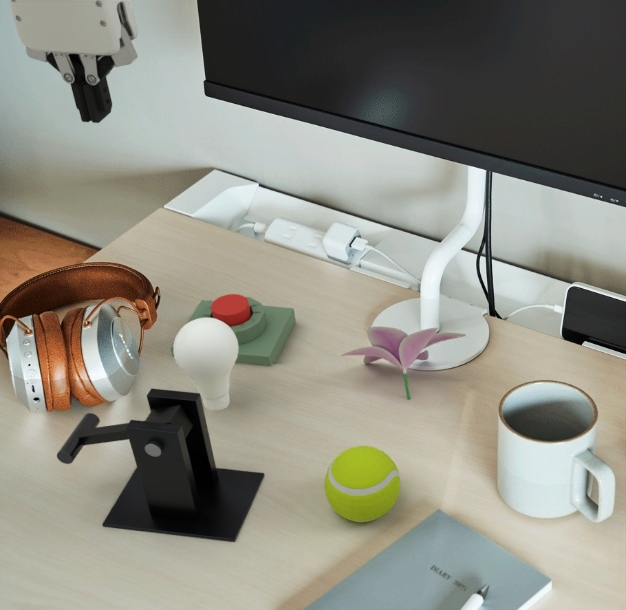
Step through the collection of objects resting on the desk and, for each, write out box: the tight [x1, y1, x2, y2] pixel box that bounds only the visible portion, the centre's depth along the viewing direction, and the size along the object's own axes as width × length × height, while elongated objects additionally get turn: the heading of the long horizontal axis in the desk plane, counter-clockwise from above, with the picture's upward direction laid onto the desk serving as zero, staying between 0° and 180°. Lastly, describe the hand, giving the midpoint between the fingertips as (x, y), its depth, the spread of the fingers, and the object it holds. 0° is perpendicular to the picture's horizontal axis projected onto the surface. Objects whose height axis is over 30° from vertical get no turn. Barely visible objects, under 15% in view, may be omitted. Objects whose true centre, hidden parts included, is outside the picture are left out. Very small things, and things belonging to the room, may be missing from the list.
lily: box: [340, 326, 467, 401], centre depth 96 cm, size 12×12×10 cm
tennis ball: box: [324, 445, 401, 523], centre depth 82 cm, size 7×7×7 cm
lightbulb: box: [173, 318, 239, 412], centre depth 91 cm, size 6×6×11 cm
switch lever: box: [56, 405, 193, 465], centre depth 79 cm, size 11×5×2 cm, turn 82°
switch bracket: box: [101, 388, 265, 543], centre depth 80 cm, size 12×8×12 cm, turn 82°
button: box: [211, 293, 251, 327], centre depth 101 cm, size 4×4×2 cm
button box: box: [170, 296, 297, 367], centre depth 103 cm, size 11×9×4 cm
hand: (97, 116), depth 93 cm, fingers closed
